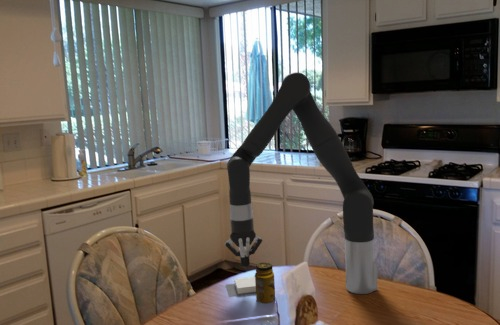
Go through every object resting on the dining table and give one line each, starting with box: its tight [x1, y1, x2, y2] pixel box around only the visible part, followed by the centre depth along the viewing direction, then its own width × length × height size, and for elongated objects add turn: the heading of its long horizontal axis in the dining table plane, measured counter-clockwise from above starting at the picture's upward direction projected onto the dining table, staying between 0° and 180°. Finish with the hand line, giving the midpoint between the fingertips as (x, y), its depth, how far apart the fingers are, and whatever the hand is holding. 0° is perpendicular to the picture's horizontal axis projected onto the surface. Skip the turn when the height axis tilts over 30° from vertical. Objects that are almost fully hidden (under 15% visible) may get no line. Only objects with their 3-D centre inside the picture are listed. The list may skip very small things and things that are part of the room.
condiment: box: [254, 262, 276, 304], centre depth 146 cm, size 7×8×12 cm
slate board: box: [225, 283, 256, 298], centre depth 156 cm, size 13×10×1 cm
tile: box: [233, 275, 256, 294], centre depth 156 cm, size 2×8×8 cm
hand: (245, 266), depth 155 cm, fingers closed
